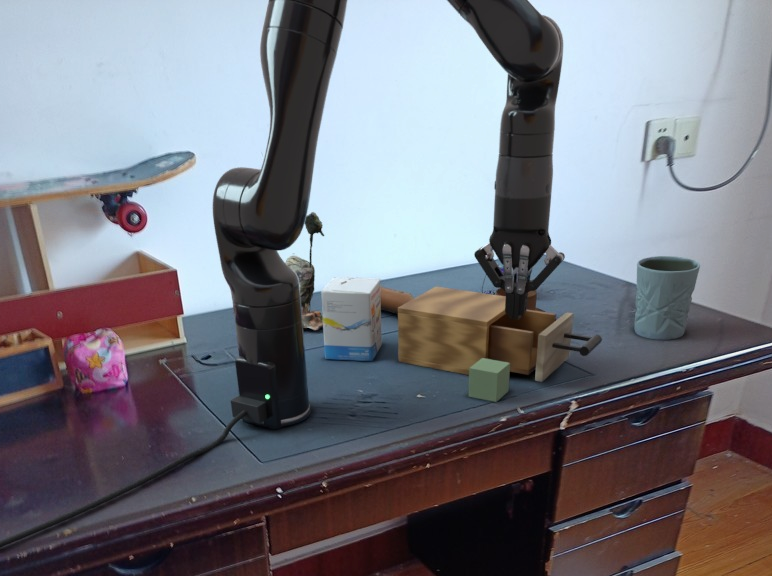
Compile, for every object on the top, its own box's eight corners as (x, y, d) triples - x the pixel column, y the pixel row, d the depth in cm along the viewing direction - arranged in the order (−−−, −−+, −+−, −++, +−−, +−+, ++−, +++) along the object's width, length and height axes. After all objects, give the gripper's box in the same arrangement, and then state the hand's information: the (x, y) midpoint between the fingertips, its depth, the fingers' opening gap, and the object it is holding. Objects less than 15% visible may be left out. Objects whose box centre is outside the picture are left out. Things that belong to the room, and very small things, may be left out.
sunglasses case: (445, 311, 158) (434, 285, 152) (424, 337, 156) (412, 312, 151) (377, 294, 168) (365, 269, 163) (357, 318, 166) (344, 294, 161)
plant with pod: (302, 313, 160) (294, 204, 150) (341, 326, 153) (335, 213, 143) (269, 323, 156) (258, 212, 145) (307, 337, 149) (298, 221, 138)
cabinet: (517, 352, 140) (520, 298, 135) (484, 378, 130) (487, 321, 126) (435, 337, 147) (435, 286, 142) (398, 361, 137) (397, 307, 132)
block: (496, 402, 123) (497, 373, 120) (468, 396, 125) (469, 367, 122) (508, 391, 126) (510, 362, 123) (481, 386, 128) (482, 357, 125)
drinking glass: (699, 336, 144) (712, 266, 137) (650, 344, 141) (661, 274, 135) (664, 319, 152) (674, 253, 146) (617, 327, 149) (625, 259, 143)
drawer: (604, 362, 132) (609, 318, 128) (578, 388, 124) (584, 341, 120) (487, 342, 141) (489, 300, 137) (456, 365, 133) (457, 321, 129)
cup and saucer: (517, 341, 144) (519, 306, 141) (467, 325, 152) (469, 292, 149) (561, 325, 151) (564, 291, 147) (511, 310, 159) (513, 278, 155)
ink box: (372, 362, 138) (370, 292, 131) (323, 359, 139) (319, 290, 133) (383, 344, 145) (381, 277, 138) (336, 342, 146) (332, 275, 140)
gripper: (578, 188, 111) (566, 314, 120) (484, 183, 116) (479, 305, 125) (566, 198, 105) (554, 330, 115) (467, 193, 110) (463, 320, 119)
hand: (515, 317), depth 120 cm, fingers closed
